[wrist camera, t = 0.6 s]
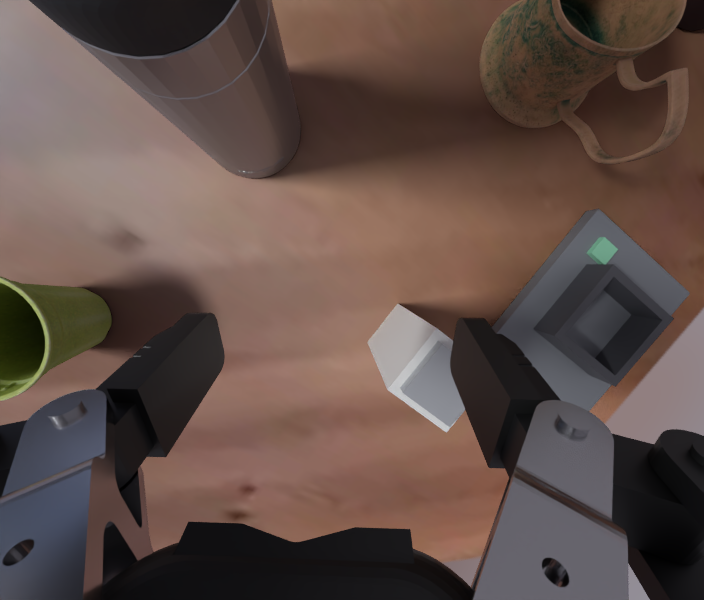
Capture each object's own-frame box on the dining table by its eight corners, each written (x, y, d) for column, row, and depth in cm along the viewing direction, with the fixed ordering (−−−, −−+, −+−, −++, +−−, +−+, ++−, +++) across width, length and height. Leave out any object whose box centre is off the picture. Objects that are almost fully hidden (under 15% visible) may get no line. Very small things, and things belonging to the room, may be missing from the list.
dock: (567, 416, 34) (602, 439, 30) (476, 345, 32) (499, 358, 28) (674, 292, 33) (727, 296, 29) (586, 211, 31) (627, 202, 27)
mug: (495, 199, 31) (597, 159, 19) (471, 10, 28) (570, -171, 17) (602, 178, 31) (768, 126, 19) (587, -10, 29) (765, -201, 17)
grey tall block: (367, 342, 32) (389, 394, 19) (397, 303, 31) (440, 330, 19) (405, 370, 32) (450, 439, 20) (435, 332, 32) (501, 378, 19)
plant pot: (12, 287, 29) (-123, 298, 20) (106, 256, 29) (11, 254, 21) (56, 375, 30) (-55, 420, 22) (145, 345, 30) (71, 377, 22)
